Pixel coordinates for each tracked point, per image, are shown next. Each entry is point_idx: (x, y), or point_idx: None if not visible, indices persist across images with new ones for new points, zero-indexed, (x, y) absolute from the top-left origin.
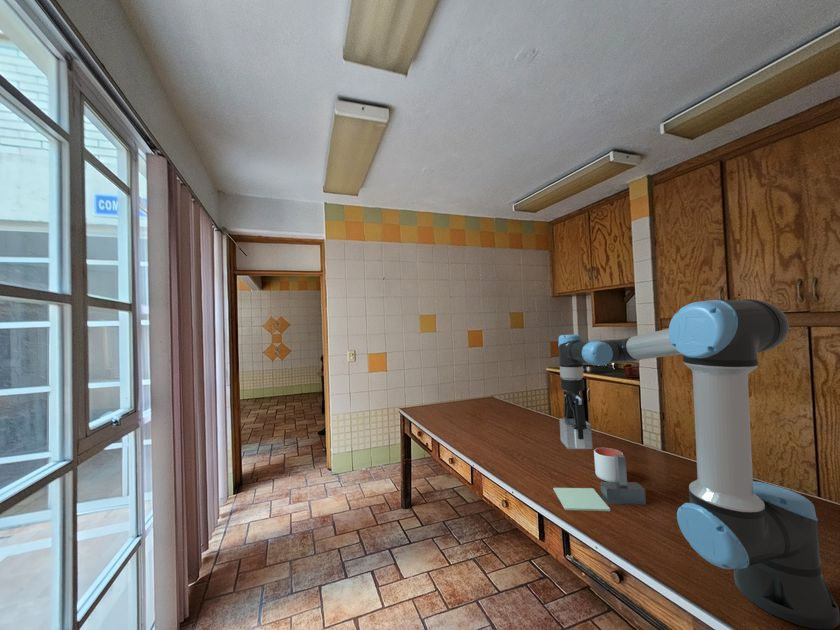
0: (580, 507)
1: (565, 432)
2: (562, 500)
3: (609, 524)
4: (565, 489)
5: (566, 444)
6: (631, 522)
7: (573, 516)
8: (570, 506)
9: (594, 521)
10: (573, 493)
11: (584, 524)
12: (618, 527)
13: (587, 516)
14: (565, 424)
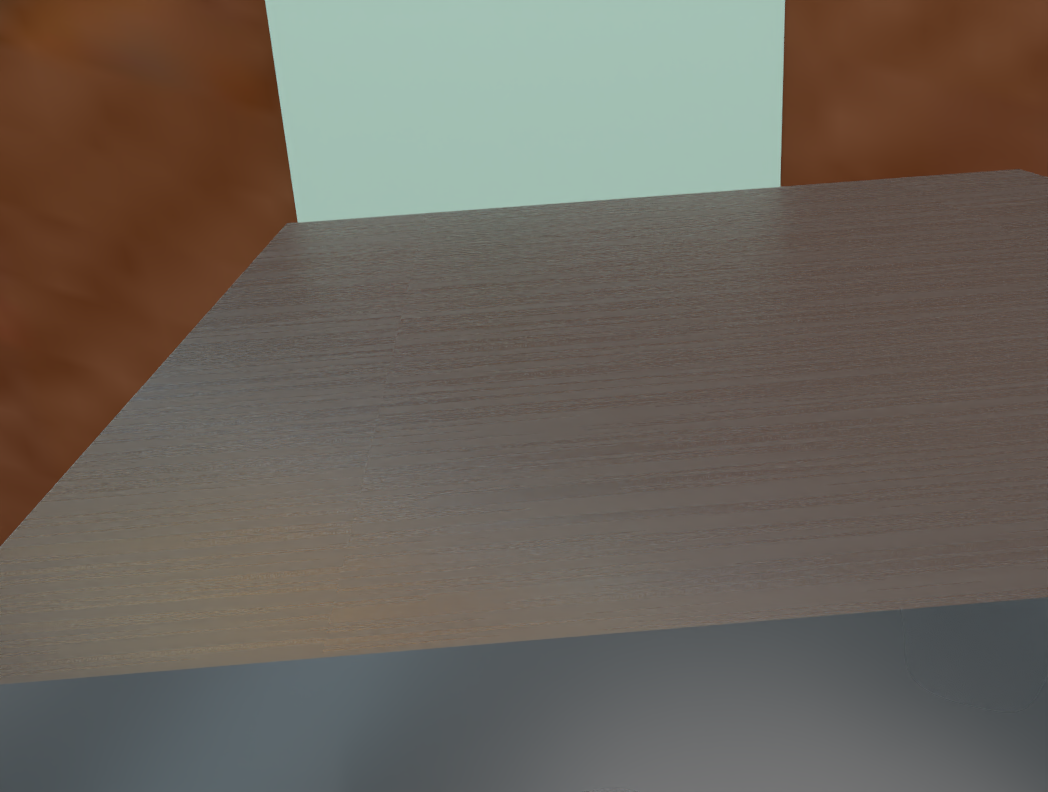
0: (316, 180)
1: (394, 364)
2: (449, 1)
3: (82, 379)
4: (739, 109)
5: (389, 234)
6: None
7: (148, 56)
8: (316, 67)
9: (101, 254)
10: (642, 184)
11: (11, 135)
12: (51, 440)
13: (184, 211)
14: (183, 653)
